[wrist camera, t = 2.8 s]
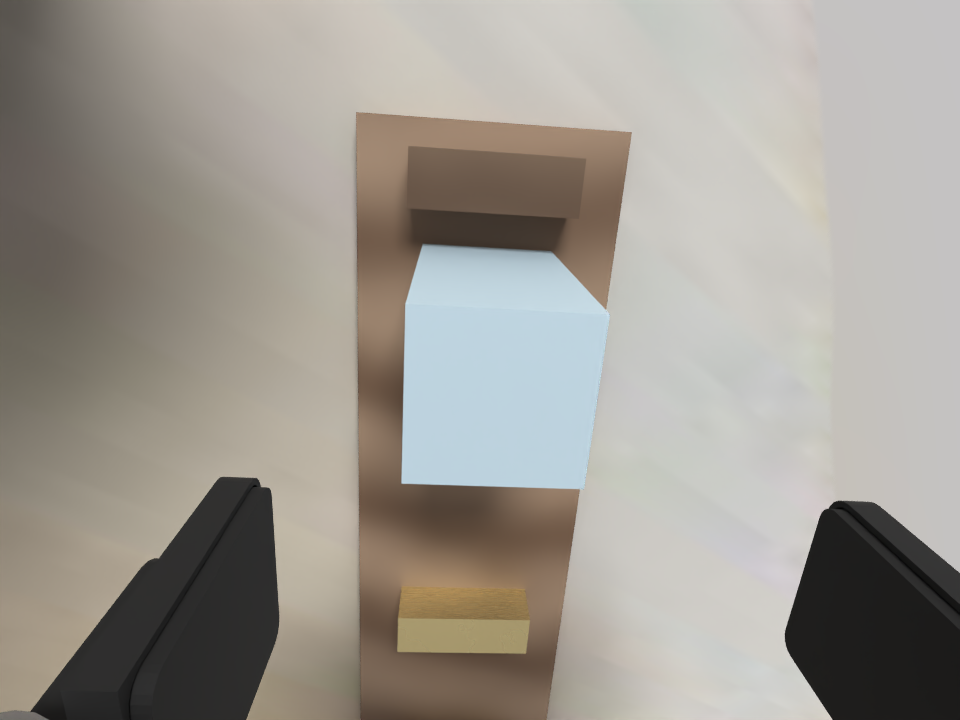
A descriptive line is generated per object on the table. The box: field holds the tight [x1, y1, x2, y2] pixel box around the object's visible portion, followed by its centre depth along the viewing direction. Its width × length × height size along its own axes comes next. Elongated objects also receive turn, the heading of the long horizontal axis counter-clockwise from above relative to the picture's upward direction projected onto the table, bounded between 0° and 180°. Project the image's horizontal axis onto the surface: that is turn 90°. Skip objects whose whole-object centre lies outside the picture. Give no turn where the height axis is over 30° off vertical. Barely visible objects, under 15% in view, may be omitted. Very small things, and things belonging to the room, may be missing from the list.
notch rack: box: [356, 112, 632, 720], centre depth 26 cm, size 34×10×3 cm, turn 176°
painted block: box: [401, 244, 610, 489], centre depth 19 cm, size 5×5×9 cm
